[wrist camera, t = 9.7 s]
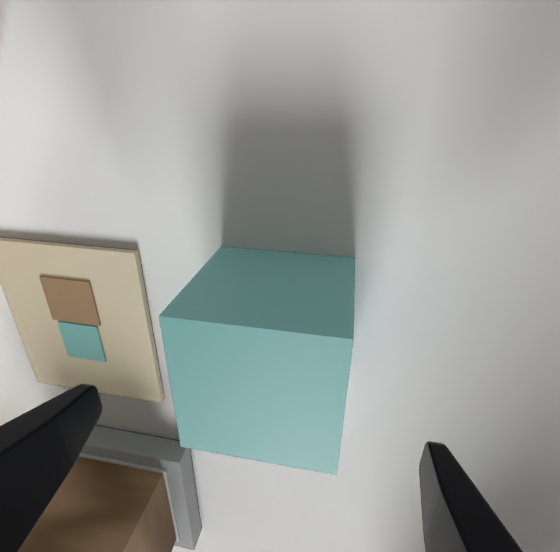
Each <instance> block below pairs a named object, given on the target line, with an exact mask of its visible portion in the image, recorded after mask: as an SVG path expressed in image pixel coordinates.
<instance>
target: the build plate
mask: <svg viewBox="0 0 560 552" xmlns="http://www.w3.org/2000/svg"><path fill="white" fill-rule="evenodd" d="M79 457H84V458H89V459H94V460H99V461H104V462H109V463H114V464H119V465H124V466H128V467H133V468H138V469H143V470H148V471H153V472H158V473H163V475H164V480H165V485H166V490H167V494H168V499H169V504H170V509H171V514H172V519H173V524H174V529H175V534H176V538H177V539H176V541H175V544H174V545H175V546H179V547H183V548H187V549H191V550H194V549H195V546H196V544H197V541H198V538H199V535H200V532H201V530H202V528H201V521H200V514H199V507H198V500H197V493H196V487H195V480H194V473H193V466H192V459H191V452H190V448H185V447H181V445H180V441H177V440H171V439H166V438H161V437H155V436H150V435H144V434H139V433H134V432H128V431H123V430H117V429H112V428H107V427H101V426H96V425H95V426H94V428H93V430H92V432H91V434H90V436H89V438H88V440H87V442H86V443H85V445H84V447H83V449H82V451H81V453H80V455H79Z"/></svg>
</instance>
